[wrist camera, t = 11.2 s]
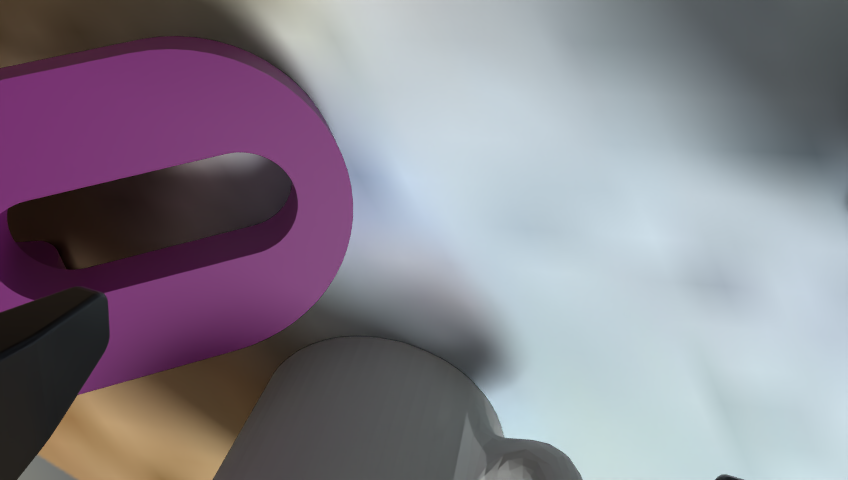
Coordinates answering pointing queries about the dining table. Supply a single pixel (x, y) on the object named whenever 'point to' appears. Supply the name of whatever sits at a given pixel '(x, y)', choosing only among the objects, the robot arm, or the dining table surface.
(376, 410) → the coffee mug
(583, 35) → the dining table surface
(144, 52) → the mounting bracket
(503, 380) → the dining table surface
